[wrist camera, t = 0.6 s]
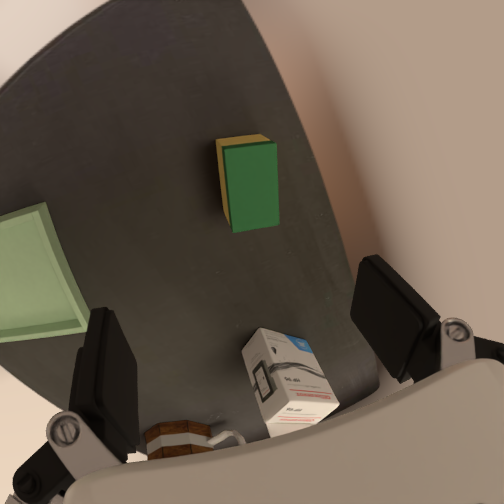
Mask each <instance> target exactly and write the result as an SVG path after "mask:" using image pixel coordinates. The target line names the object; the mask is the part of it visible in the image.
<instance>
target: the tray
mask: <svg viewBox="0 0 504 504" xmlns="http://www.w3.org/2000/svg"><path fill="white" fill-rule="evenodd" d="M89 317H90V311H89V309H88V307H87V305H86V303H85V301H84V299H83V297H82V295H81V292H80V290H79V288H78V286H77V284H76V281H75V279H74V277H73V274H72V272H71V270H70V267H69V265H68V262H67V260H66V258H65V255H64V253H63V250H62V247H61V245H60V242H59V239H58V237H57V234H56V231H55V228H54V226H53V223H52V220H51V217H50V214H49V211H48V208H47V205H46V202H43V203H39V204H36V205H33V206H30V207H26V208H23V209H20V210H17V211H14V212H11V213H8V214H5V215H3V216H0V342H10V341H19V340H27V339H36V338H44V337H51V336H59V335H66V334H73V333H80V332H86V331H87V326H88V321H89Z"/></svg>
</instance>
